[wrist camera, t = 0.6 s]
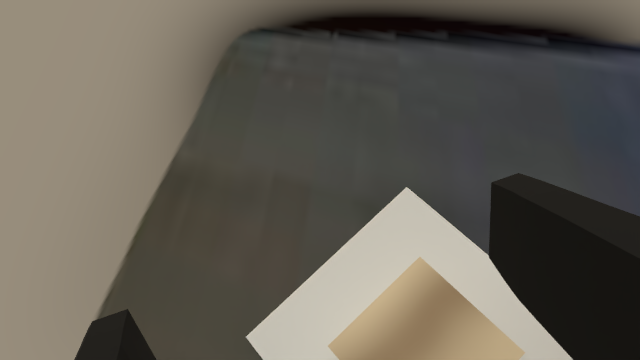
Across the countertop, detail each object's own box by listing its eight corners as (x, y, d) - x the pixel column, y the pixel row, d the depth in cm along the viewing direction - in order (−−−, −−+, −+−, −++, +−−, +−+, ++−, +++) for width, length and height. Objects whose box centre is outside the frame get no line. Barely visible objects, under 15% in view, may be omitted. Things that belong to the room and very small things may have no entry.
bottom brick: (517, 361, 23) (525, 352, 21) (426, 458, 22) (425, 459, 20) (421, 272, 26) (419, 256, 24) (337, 354, 25) (327, 345, 23)
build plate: (632, 385, 23) (640, 382, 22) (448, 595, 21) (448, 602, 20) (407, 194, 29) (406, 187, 28) (252, 340, 27) (245, 336, 26)
